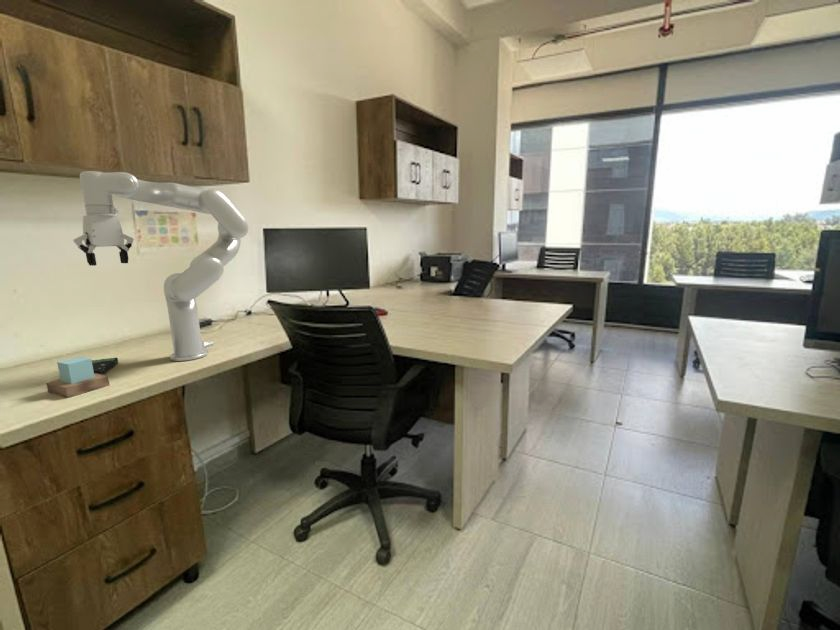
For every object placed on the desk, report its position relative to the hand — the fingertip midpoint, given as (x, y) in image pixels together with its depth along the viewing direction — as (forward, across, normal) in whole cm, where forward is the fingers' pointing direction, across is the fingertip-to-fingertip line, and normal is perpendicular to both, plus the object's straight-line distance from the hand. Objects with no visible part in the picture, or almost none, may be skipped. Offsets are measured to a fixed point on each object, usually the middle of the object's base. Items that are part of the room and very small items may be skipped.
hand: (109, 264), depth 138 cm
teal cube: (+33, +18, +8) cm, 39 cm away
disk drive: (+37, +6, -8) cm, 38 cm away
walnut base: (+36, +18, +8) cm, 41 cm away
